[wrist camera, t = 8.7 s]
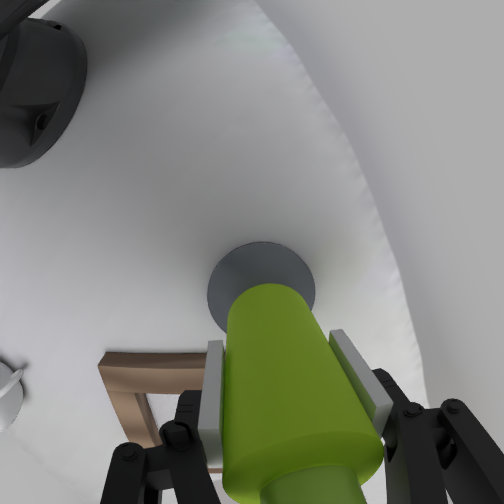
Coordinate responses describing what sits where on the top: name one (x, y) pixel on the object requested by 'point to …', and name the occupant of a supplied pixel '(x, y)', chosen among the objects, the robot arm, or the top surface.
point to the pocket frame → (148, 387)
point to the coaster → (256, 276)
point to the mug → (9, 395)
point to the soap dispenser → (290, 408)
